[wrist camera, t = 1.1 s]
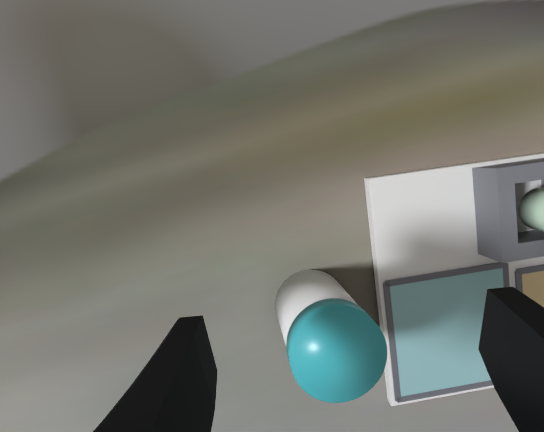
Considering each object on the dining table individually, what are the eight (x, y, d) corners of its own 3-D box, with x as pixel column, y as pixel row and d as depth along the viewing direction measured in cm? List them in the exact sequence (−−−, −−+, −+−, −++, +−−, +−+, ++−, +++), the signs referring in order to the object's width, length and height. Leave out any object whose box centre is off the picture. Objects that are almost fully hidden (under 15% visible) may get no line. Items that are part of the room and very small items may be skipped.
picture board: (611, 358, 24) (657, 382, 21) (387, 399, 23) (407, 429, 20) (605, 143, 22) (654, 141, 20) (364, 178, 21) (382, 180, 19)
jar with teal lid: (349, 331, 22) (392, 393, 16) (279, 343, 22) (297, 410, 16) (341, 263, 22) (382, 301, 16) (269, 274, 21) (284, 317, 15)
